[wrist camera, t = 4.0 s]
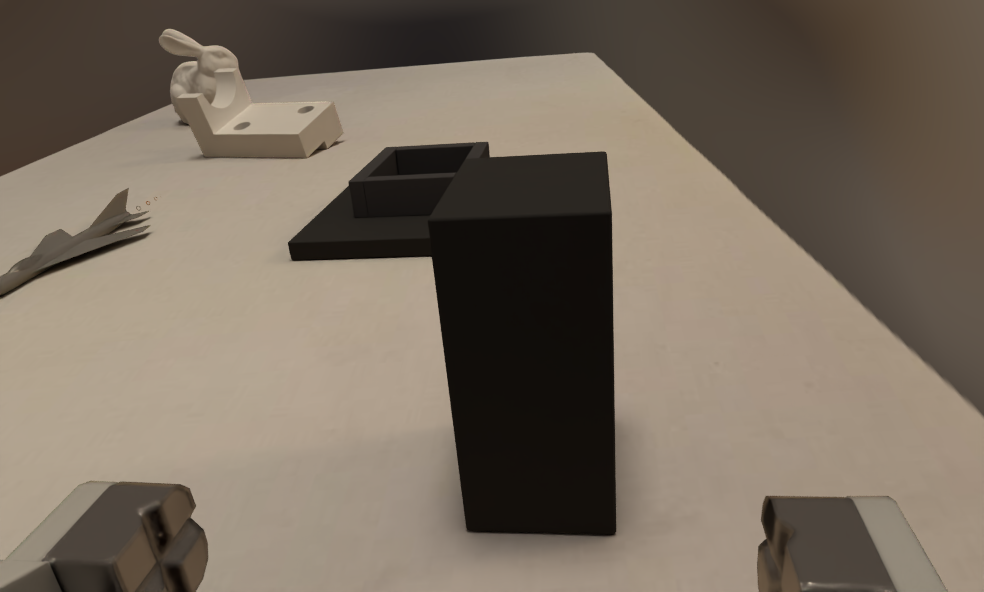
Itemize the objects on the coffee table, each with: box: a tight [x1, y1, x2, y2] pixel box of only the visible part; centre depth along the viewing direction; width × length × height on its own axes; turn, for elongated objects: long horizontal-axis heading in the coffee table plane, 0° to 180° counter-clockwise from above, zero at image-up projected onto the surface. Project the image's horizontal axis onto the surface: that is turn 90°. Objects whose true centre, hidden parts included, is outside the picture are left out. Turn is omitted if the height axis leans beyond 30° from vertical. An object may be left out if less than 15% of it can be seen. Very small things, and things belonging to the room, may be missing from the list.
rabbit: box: [159, 29, 238, 124], centre depth 93 cm, size 12×9×12 cm
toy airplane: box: [0, 188, 157, 295], centre depth 50 cm, size 8×21×2 cm, turn 174°
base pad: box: [288, 142, 490, 260], centre depth 51 cm, size 14×18×4 cm
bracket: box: [177, 68, 344, 158], centre depth 74 cm, size 13×7×8 cm, turn 69°
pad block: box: [427, 152, 616, 534], centre depth 22 cm, size 4×6×10 cm
